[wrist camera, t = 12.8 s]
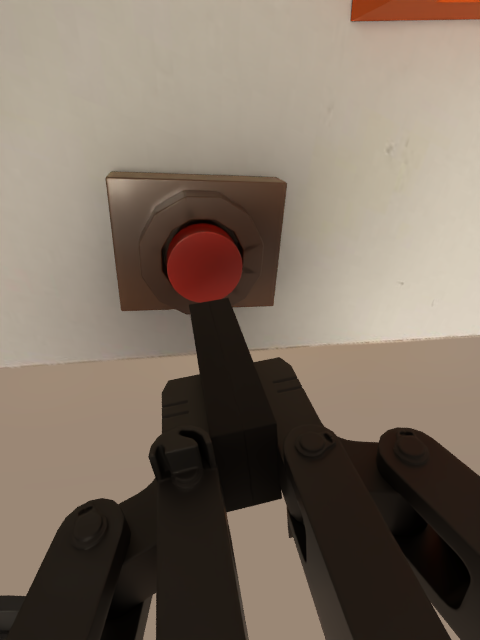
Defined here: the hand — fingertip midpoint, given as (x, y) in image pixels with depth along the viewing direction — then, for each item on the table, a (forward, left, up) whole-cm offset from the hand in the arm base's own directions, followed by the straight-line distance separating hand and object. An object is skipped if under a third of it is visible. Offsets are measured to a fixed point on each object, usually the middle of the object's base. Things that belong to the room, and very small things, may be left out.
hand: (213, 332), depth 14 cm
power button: (0, 0, -8) cm, 8 cm away
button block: (0, 0, -11) cm, 11 cm away
